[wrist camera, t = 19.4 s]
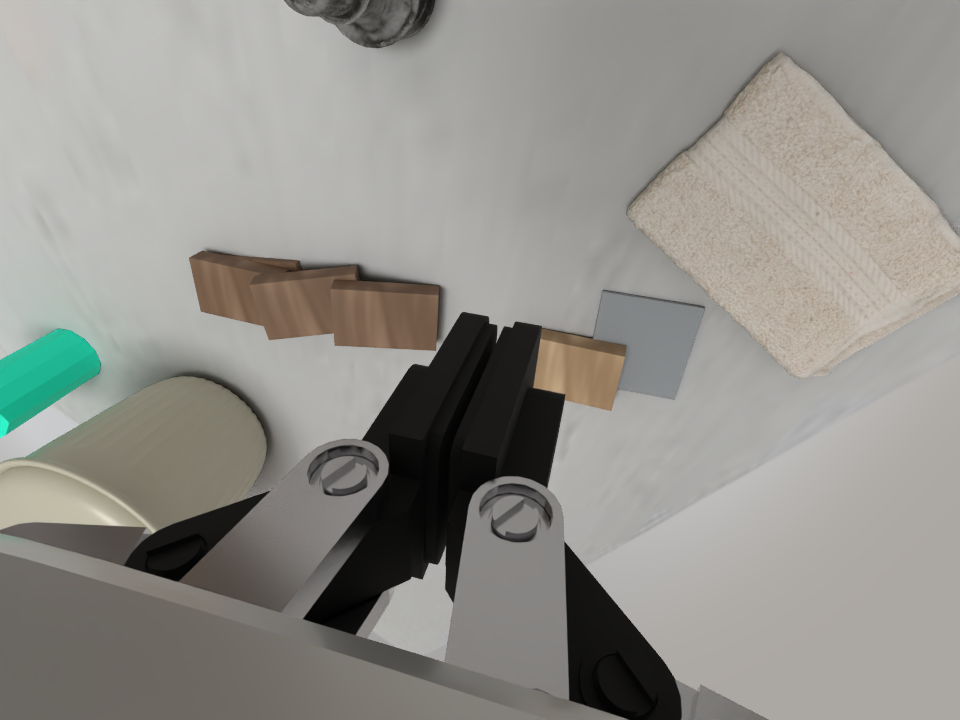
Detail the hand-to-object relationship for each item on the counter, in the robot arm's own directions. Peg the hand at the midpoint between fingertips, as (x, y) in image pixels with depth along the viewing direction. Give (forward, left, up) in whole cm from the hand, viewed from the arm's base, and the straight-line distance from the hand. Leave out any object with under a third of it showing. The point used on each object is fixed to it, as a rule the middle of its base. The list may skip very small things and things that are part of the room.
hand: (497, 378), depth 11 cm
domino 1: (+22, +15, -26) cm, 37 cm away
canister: (+34, +32, -27) cm, 54 cm away
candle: (+50, +27, -27) cm, 63 cm away
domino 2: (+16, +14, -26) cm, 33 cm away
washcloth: (-13, +4, -28) cm, 31 cm away
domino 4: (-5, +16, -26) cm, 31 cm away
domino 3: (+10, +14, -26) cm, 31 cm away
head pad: (-6, +14, -27) cm, 31 cm away
